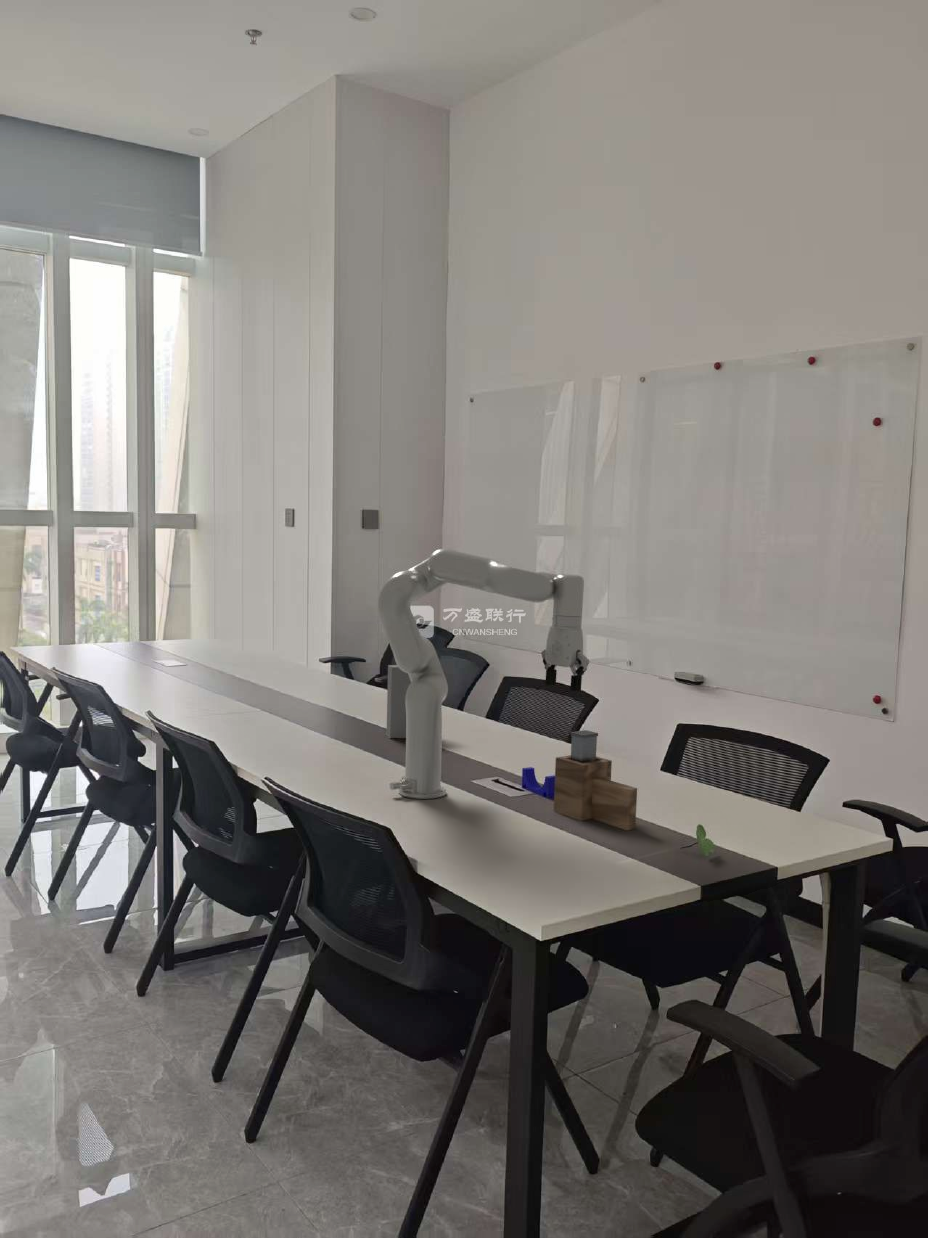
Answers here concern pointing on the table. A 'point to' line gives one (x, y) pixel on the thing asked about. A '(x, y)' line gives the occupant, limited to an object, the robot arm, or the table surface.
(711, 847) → the seedling
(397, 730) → the tall grey block
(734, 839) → the table surface
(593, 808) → the brown stepped hollow block
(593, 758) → the upright grey metal pillar
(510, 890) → the table surface
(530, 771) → the blue cradle block
